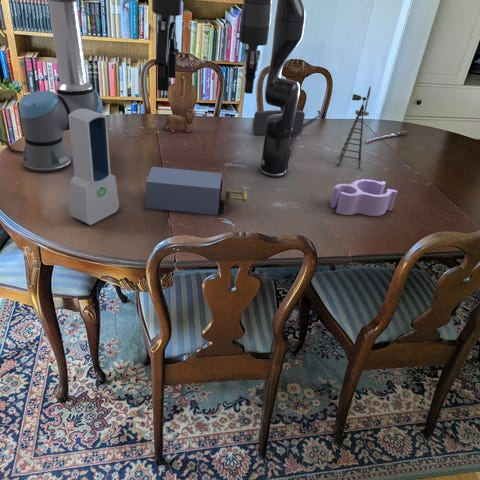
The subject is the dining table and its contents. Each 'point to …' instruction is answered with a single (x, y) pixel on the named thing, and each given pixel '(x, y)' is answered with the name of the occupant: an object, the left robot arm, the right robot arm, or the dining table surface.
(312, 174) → the dining table surface
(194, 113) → the lion figurine
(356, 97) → the miniature windmill
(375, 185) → the clip
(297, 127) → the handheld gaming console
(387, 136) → the sword
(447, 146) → the dining table surface
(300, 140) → the dining table surface
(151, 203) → the cabinet
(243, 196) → the drawer
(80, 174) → the electronic device
